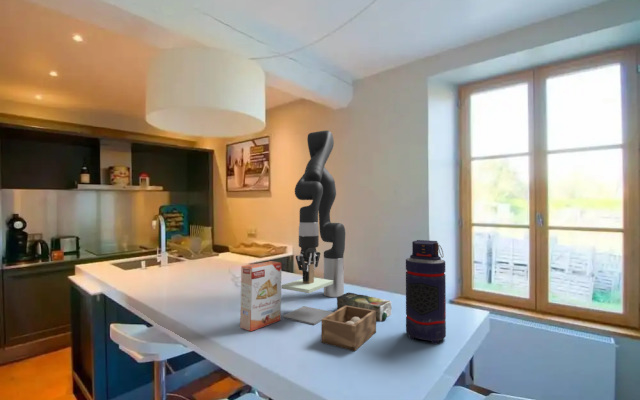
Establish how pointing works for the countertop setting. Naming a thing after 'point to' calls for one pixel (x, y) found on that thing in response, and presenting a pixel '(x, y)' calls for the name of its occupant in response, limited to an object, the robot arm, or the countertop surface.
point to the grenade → (425, 292)
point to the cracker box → (260, 295)
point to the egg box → (348, 327)
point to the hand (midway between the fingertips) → (308, 280)
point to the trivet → (307, 315)
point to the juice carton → (366, 304)
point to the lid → (308, 283)
